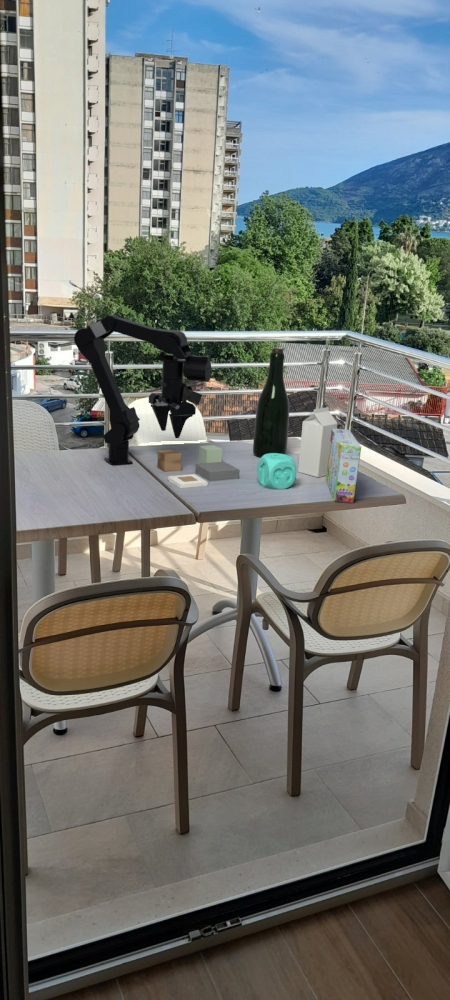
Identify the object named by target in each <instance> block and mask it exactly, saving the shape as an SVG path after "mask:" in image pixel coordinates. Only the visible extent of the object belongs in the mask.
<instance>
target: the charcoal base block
mask: <svg viewBox="0 0 450 1000" xmlns="http://www.w3.org/2000/svg"><path fill="white" fill-rule="evenodd" d="M240 470H241V469H239V468H237V467H235V466H233V465H231V464H229V463H227V462H226V461H222V462H213V463H195V470H194V474H195V475H197V476H199V477H200V478H202V479H204V480H206V481H207V482H208V481H209V482H218V481H220V482H221V481H232V480H239V479H240Z"/></svg>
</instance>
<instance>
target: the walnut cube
mask: <svg viewBox="0 0 450 1000" xmlns="http://www.w3.org/2000/svg"><path fill="white" fill-rule="evenodd" d="M182 456H183V455H182V453H181V452H179V451H177V450H175V449H164V450H157V467H156V468H157V469H159V470H160V471H162V472H164V473H169V472H181V471H182Z"/></svg>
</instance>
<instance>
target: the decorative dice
mask: <svg viewBox="0 0 450 1000" xmlns="http://www.w3.org/2000/svg"><path fill="white" fill-rule="evenodd" d="M256 473H257V474H256V476H257V479H258V483H259V484H260V486H262V487H263V488H265V489H266V488H267V489H269V490H270V489H271V490H286V489H289V488H290V487H291V486H292V485H293V484H294V482H295V481H296V476H297V465H296V462H295V460H294V458H293V457H292V456H291V455H288V454H286V455H285V454H279V453H269V454H265V455H263V456H262V457H259V460H258V462H257V467H256Z"/></svg>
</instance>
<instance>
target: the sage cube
mask: <svg viewBox="0 0 450 1000" xmlns="http://www.w3.org/2000/svg"><path fill="white" fill-rule="evenodd" d="M222 458H223V448H221V447H219V446H217V445H215V444H212V445H200V446H198V464H200V463H213V462H223V461H222V460H223V459H222Z"/></svg>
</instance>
